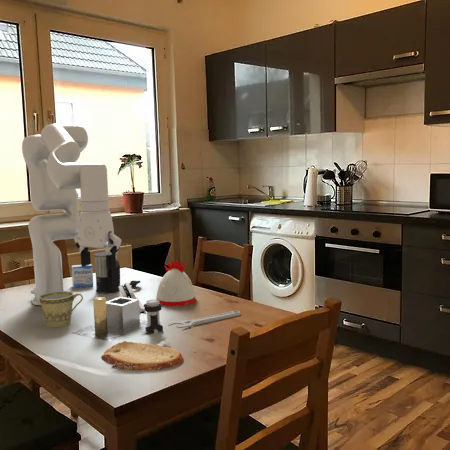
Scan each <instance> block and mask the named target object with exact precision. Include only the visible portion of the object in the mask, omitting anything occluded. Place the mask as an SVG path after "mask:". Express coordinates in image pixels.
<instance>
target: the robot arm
mask: <svg viewBox="0 0 450 450" xmlns="http://www.w3.org/2000/svg"><path fill="white" fill-rule="evenodd" d="M86 130H87V129H85V127H84V126H82V125H81V124H77V123H50V124H47V125H45V126H44V127H43V128H42V130H41V131H40V134H31V135H27V136H25V137H24V138H23V141H22V143H21V152H22V157H23V159H24V162H25V164H26V167H27V170H28V174H29V175H28V176H29V190H30V201H31V206H32V207H33V209H34V210H36V211H39V212H50V211H61V210H62V211H63V212H62V213H47V214H40V215H36V216H33V217H32V218H30V220H29V221H28V232H29V236H30V240H31V245H32V246H31V248H32V256H33V257H32V259H33V269H34V270H33V271H34V283H35V284H34V286H35V287H34V288H33V289H31V290H30V294H31V295H32V294H33V295H34V297H33V298H32V299H31V303H32V304H33V305H35V306H41V303H40V298H39V297H40V295H42V294H45V293H48V292H54V291H65V290H64V278H63V261H62V252H61V250H60V248H59V247H58V245H56V244H55V243H54V242H55V241H61V240H71V239H73V240H74V243H75V246H76V248H77V249H78V252H79V253H80V265H81V266H87V265H90V264H91V265H92V262H91V252H90V251H91V250H90V249H98V250H99V249H104V252H107V254H108V255H106V267H107V269H112V268H115V267H116V257H115V254H117V253H118V251H119V250H120V246H121V244H122V238H120V237H119V236H118V235H116V234H115V230H114V229H115V228H114V222H113V218H112V215H111V214H112V213H111V211H110V204H109V203H110V202H109V189H108V188H109V185H108V184H109V183H108V168H107V166H106V164H105V163H101V162H99V163H97V162H77V161H78V160H79V158H80V156H81V153H82V152H83V151H84V150H85V149H86V148H87V145H88V143H89V141H88V140H89V137H88V131H86ZM78 189H79V191H80V204H79V196H78V191H77V190H78ZM79 206H80V207H81V208H80V209H81V212H80V210H79ZM117 255H118V254H117Z"/></svg>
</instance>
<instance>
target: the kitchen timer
mask: <svg viewBox="0 0 450 450" xmlns="http://www.w3.org/2000/svg"><path fill="white" fill-rule="evenodd" d="M183 264H184V263H183V260H180V263H179V260H178V259H176V260H174V259H172V260H171V262H167V265H168V267H167V265H164V269H165V271H166V273H165V274H164V275H163V276H162V277H161V280H160V281H159V284H158V288H157V290H156V299H155V300H158V301H159V303H162V307H163V306H164V307H181V306H187V305H190V304H194V303H195V302H196V292H195V288H194V286H193V283H192V280H191V279H190V277H189V276H188V274H186V272H185V269H186V266H187V264H186V263H185V264H184V265H183Z"/></svg>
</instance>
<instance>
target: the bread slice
mask: <svg viewBox="0 0 450 450" xmlns="http://www.w3.org/2000/svg"><path fill="white" fill-rule="evenodd" d="M100 358H101V359H102V360H103V361H104V362H105V363H106V364H112V366H110V367H111V368H112V369H116V370H117V369H118V370H122V371H123V370H124V371H142V370H144V371H145V370H146V371H156V370H157V371H159V370H165V369H169V368H174V367H177V366H179V365H182V363H184V361H185V359H184V357H183V355H182V353H181V351H179V350H178V349H176V348H175V349H174V348H171V347H168V346H163V345H158V344H151V343H143V342H142V343H141V342H133V341H127V340H124V341H122V342H118V343H116V344H114V345H112V346H111V347H109V348H107V349H106V350H105V351H104V352H103V354H102V355H101V356H100ZM144 371H143V372H144ZM146 371H145V372H146Z"/></svg>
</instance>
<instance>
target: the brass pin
mask: <svg viewBox="0 0 450 450" xmlns="http://www.w3.org/2000/svg"><path fill="white" fill-rule="evenodd" d="M92 302H93V305H92V306H93V320H94V321H93V322H94V323H93V324H95V334H105V333H107V332H108V327H107V308H106V302H107V298H106V297H105V296H102V297H101V296H99V297H94V298H92Z"/></svg>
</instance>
